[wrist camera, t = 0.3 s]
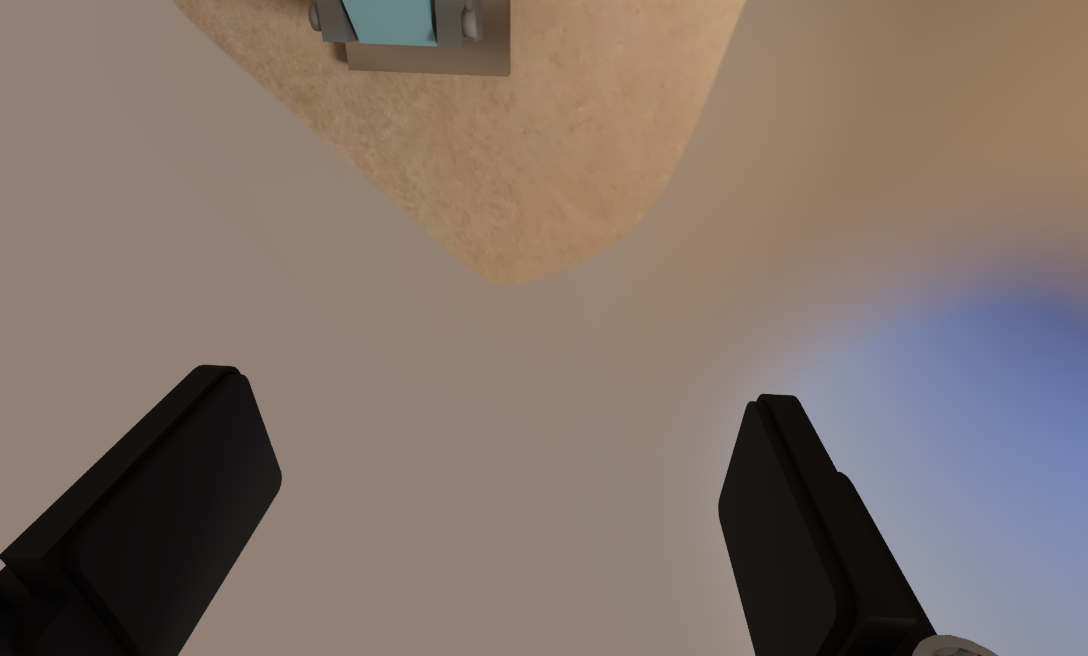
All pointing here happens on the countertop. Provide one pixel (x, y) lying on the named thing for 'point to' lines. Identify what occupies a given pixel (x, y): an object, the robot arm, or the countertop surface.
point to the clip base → (463, 46)
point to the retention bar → (393, 21)
